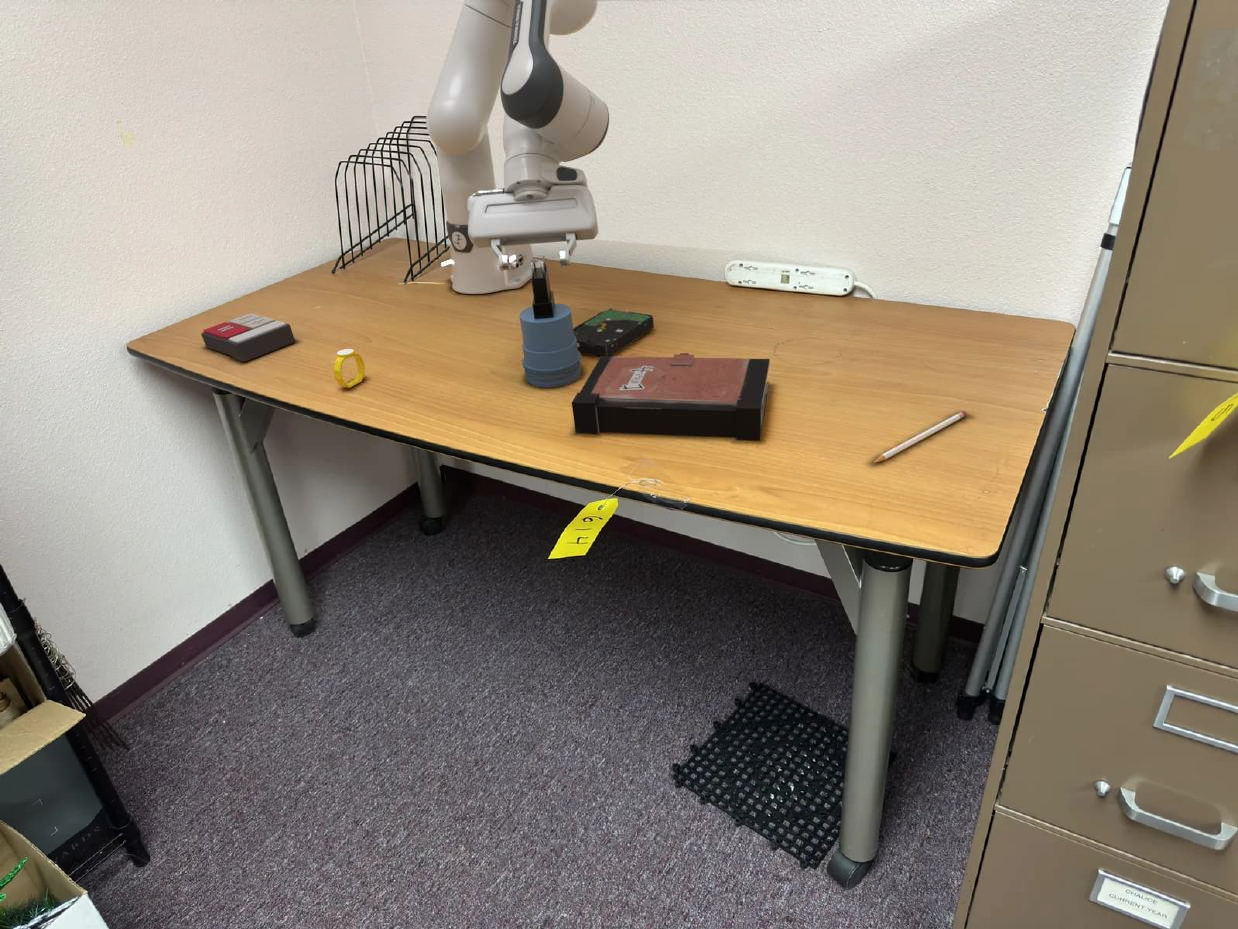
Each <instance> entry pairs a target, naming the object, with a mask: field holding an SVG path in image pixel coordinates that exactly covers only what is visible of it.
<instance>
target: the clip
mask: <svg viewBox="0 0 1238 929" xmlns="http://www.w3.org/2000/svg"><path fill="white" fill-rule="evenodd" d="M535 259H536V258H535V256H533V258H532V262H531V271H532V278H531V279H530V280H531V287H532V294H533V299H532V306H533V312H534V319H543V318H553V317H554V310H555V303H556V302H555V295H554V294H555V293H554V291H553V290H551V283H550V276H549V268H548V266H547V263H546V256H545V255H542V259H541V261H542V264H541V266H542V267H539V268H536V265H535ZM543 264H544V266H543ZM533 265H534V268H533ZM532 306H531V307H532Z"/></svg>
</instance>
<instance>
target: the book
mask: <svg viewBox="0 0 1238 929" xmlns="http://www.w3.org/2000/svg"><path fill="white" fill-rule="evenodd" d="M770 363H771V359H770V358H743V357H742V358H738V357H737V358H736V357H735V358H734V357H732V358H731V357H695V354H690V353H687V352H685V353H684V352H683V353H681V352H680V354H673V356H671V357H670V356H617V355H616V356H615V355H613V356H601V357H599V359H598V360H597V362H596V364H595V366H594V367H593V369H592V370H591V373H590V374H589V376H588V377H587V379H586V381H585V382H584V384H583V385H582V388H581V389H580V391H579V392H576V394H575V396H574V397H573V399H572V401H571V410H572V416H573V417H572V418H573V425H574V432H575V434H578V435H598V434H599V433H601V434H623V435H624V434H626V435H627V434H628V435H648V436H649V435H650V436H651V435H653V436H654V435H655V436H673V437H674V436H675V437H676V436H677V437H700V438H701V437H703V438H704V437H705V438H726V439H728V438H729V439H730V438H731V439H735V440H736V441H753V442H760V441H761V440H762V439H761V438H762V433H763V426H764V422H765V421H764V420H765V416H766V415H765V414H766V408H767V403H768V396H769V393H770V392H769V391H770V381H768V375H769V369H770Z"/></svg>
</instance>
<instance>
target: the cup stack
mask: <svg viewBox="0 0 1238 929" xmlns="http://www.w3.org/2000/svg"><path fill="white" fill-rule="evenodd" d="M518 317H519V324H520V329H521V335H522V336H521V337H522V344H521V347H522V353H523V357H522V360H521V363H522V367H523V371H524V374H525V375H526V376H525V377H526V381H527V383H528V384H530V385H531V386H534V387H537V388H559V387H562V386H563V387H564V386H566V385H569V384H572V383H573V382H575V381H577V380H578V379H579V378H580V377H581V374H582V369H581V368H582V362H581V361H582V353H580V352H579V351H578V348H577V340H576V337H575V336H574V331H573V328H574V323H573V322H574V321H573V316H572V308H571V307H570V306H569V305H566V304H564V303H556V302H555V310H554V317H553V318H543V319H534V312H533V306H529V307H527V308H525V309H523V310H521V312H520V313H519V315H518Z"/></svg>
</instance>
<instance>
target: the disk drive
mask: <svg viewBox="0 0 1238 929" xmlns="http://www.w3.org/2000/svg"><path fill="white" fill-rule="evenodd" d="M652 329H654V315H653V314H646V313H642V312H641V313H640V312H634V311H623V310H617V309H616V310H615V309H613V308H608V309H605V310H603V311H600V312H598V313H597V314H596V315H593V316H592V317H590V318H589V319H587V320H584V321H583V322H582V323H580V324H579V325H577V326H575V327H573V331H574V336H575V337H576V340H577V348H578V351H579V352H580V354H581V355H582V354H583V355H587V356H591V357H596V358H600V357H601V356H615V355H616V354H618V353H619V352H620V351H622V350H623V349H625V348H626V347H628V346H630V345H631V344H632V343H633V342H635V341H637V340H638V339H640V338H641V337H643V336H644V335H646V334H647V333H649V332H650V331H651V330H652Z"/></svg>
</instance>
